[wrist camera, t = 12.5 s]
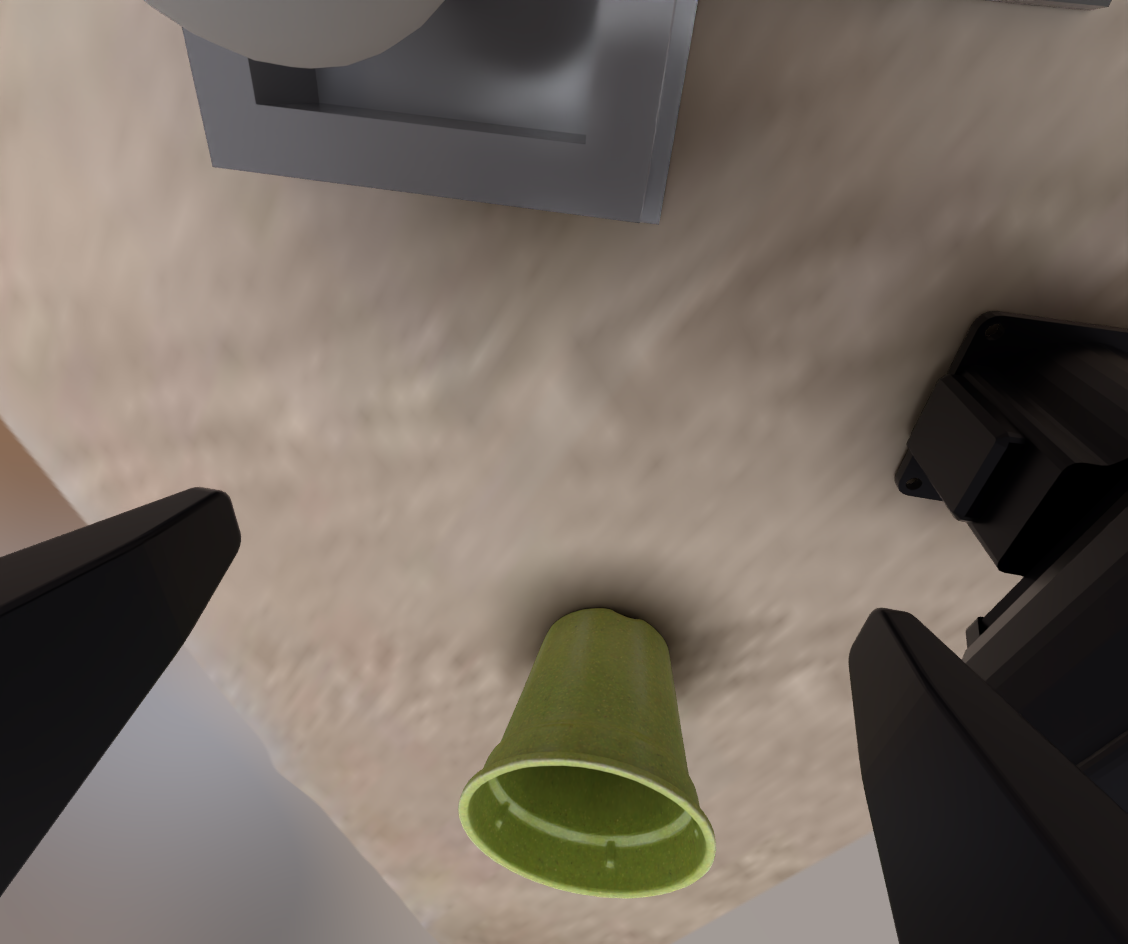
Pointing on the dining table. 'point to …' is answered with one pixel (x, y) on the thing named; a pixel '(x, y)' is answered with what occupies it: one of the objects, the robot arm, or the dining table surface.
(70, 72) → the dining table surface
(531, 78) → the grey square pan
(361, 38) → the lightbulb
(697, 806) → the plant pot
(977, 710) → the robot arm
